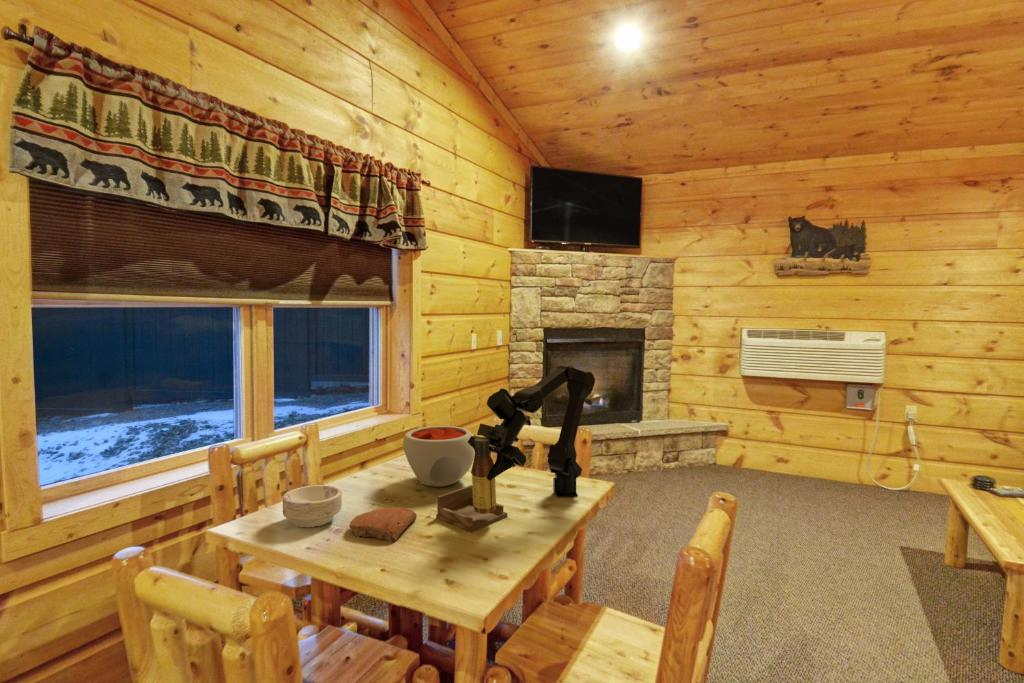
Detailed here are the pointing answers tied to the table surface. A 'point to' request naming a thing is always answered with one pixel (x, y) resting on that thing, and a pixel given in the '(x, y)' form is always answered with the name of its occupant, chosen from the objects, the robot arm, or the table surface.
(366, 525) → the brown rounded slab
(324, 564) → the table surface
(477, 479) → the sauce bottle
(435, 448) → the pot
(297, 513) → the beige round bowl
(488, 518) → the brown wooden tray
